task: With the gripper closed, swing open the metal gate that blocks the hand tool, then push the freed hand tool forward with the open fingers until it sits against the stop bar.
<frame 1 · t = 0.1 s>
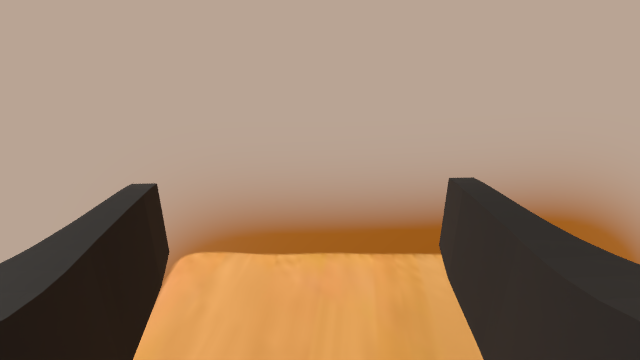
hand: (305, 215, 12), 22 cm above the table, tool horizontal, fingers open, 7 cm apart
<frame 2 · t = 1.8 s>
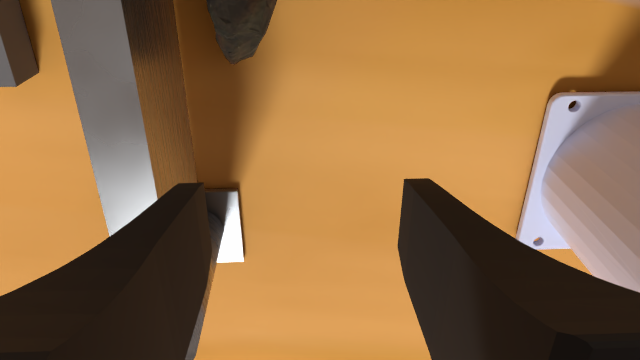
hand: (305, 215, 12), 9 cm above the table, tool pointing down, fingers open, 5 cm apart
swing gate: (143, 53, 15), point 4 cm above the table, hinge at 0.0°
gate base: (199, 225, 23), on the table
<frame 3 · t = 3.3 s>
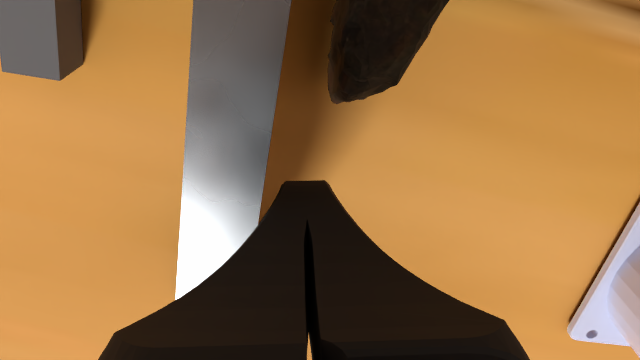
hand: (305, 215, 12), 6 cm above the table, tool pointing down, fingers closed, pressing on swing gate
swing gate: (245, 78, 12), point 4 cm above the table, hinge at 0.1°, touching gripper
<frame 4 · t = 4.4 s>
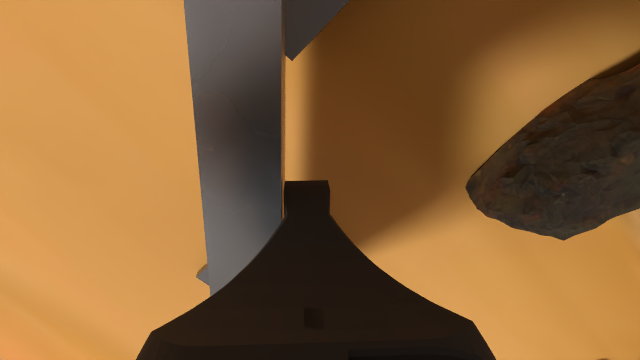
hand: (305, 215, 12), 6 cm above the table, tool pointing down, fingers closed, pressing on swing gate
swing gate: (252, 84, 12), point 4 cm above the table, hinge at 42.4°, touching gripper
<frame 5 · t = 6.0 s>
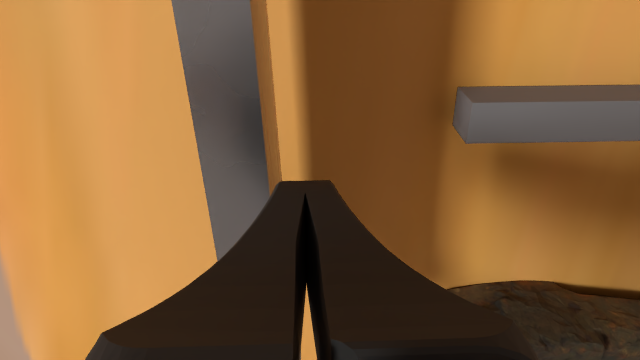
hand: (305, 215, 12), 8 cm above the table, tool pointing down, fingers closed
swing gate: (240, 63, 14), point 4 cm above the table, hinge at 92.3°
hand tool: (607, 309, 26), on the table
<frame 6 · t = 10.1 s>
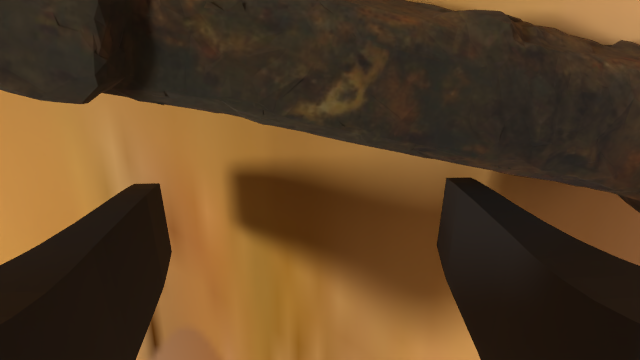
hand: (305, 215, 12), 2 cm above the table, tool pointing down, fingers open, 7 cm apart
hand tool: (301, 53, 13), on the table, touching gripper
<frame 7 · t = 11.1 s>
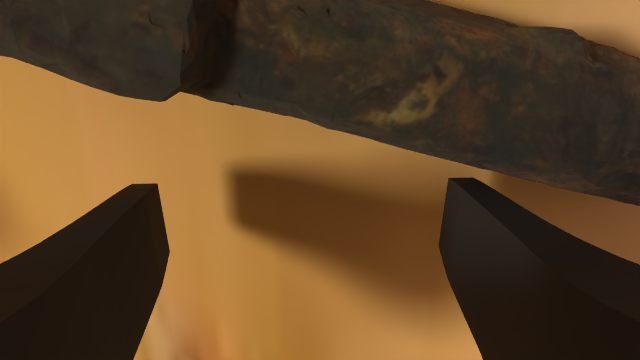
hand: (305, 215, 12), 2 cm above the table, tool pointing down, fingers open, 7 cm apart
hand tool: (354, 57, 13), on the table, touching gripper
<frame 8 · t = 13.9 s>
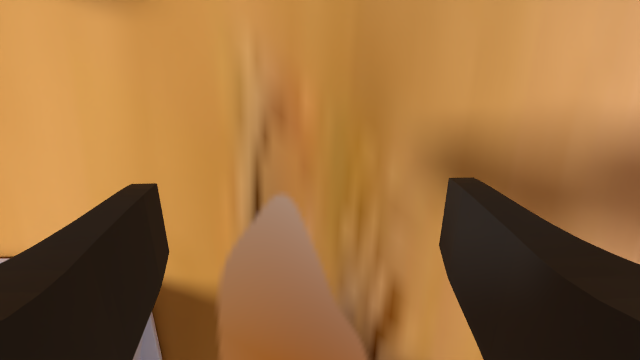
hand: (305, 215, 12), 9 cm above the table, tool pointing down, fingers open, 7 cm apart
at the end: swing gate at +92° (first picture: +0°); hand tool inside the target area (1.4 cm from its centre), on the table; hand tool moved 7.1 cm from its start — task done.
